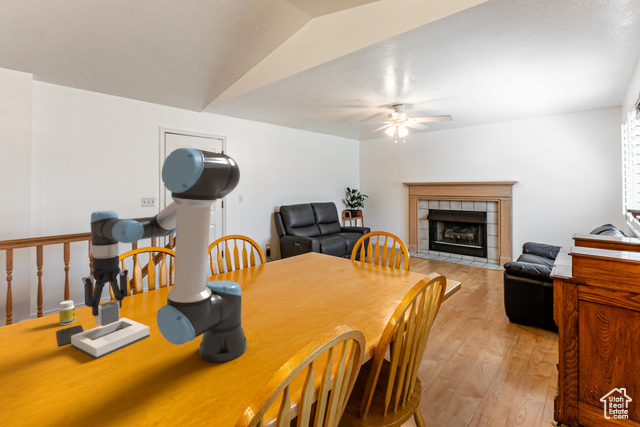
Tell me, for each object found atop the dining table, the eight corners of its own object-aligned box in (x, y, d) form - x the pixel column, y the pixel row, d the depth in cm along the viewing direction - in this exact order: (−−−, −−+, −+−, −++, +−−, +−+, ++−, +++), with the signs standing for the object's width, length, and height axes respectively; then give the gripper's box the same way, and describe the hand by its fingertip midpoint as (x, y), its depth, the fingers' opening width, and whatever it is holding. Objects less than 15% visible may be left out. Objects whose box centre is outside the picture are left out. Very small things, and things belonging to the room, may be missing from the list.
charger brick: (118, 320, 105) (118, 304, 105) (103, 326, 101) (102, 309, 100) (111, 317, 108) (110, 301, 107) (95, 322, 103) (95, 305, 103)
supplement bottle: (76, 322, 117) (75, 302, 116) (60, 326, 113) (59, 305, 113) (74, 319, 120) (73, 298, 119) (58, 322, 117) (57, 302, 116)
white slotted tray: (149, 336, 107) (149, 326, 107) (96, 359, 92) (96, 348, 92) (124, 326, 115) (124, 317, 114) (71, 346, 100) (71, 335, 99)
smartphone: (58, 345, 99) (56, 330, 110) (58, 348, 99) (56, 332, 110) (86, 338, 104) (81, 324, 115) (86, 340, 104) (81, 326, 115)
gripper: (126, 250, 112) (128, 309, 114) (68, 259, 96) (71, 328, 98) (138, 252, 108) (139, 313, 110) (80, 262, 92) (83, 334, 94)
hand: (107, 320), depth 104 cm, fingers closed on charger brick, 5 cm apart
